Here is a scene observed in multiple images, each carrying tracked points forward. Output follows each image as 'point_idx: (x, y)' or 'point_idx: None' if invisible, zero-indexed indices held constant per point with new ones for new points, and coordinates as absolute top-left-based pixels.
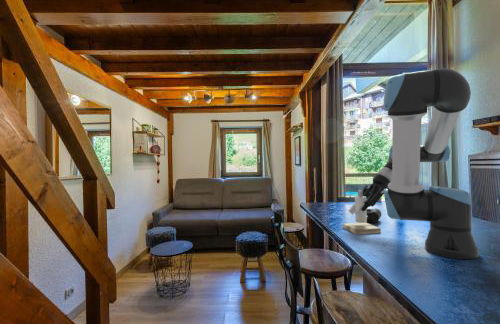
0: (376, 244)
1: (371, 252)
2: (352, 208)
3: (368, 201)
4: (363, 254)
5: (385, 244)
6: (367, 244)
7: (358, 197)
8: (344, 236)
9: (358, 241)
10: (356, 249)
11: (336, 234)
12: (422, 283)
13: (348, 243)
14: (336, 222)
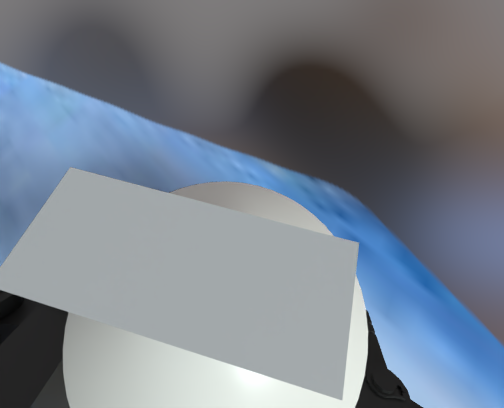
0: (36, 192)
1: (13, 114)
2: None
3: (27, 333)
4: (27, 85)
5: (3, 225)
6: (66, 162)
7: (178, 189)
8: (199, 161)
9: (114, 161)
10: (68, 97)
11: (241, 153)
12: None
13: (126, 116)
14: (474, 331)
